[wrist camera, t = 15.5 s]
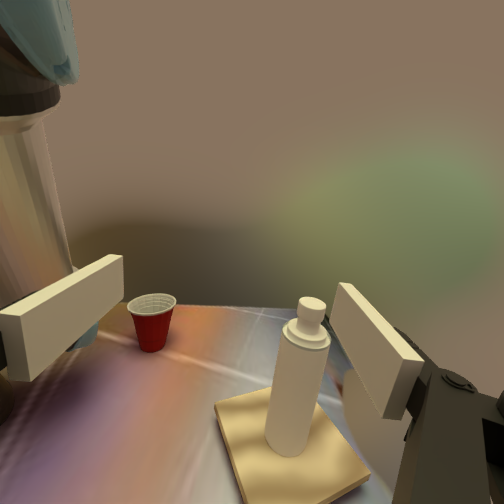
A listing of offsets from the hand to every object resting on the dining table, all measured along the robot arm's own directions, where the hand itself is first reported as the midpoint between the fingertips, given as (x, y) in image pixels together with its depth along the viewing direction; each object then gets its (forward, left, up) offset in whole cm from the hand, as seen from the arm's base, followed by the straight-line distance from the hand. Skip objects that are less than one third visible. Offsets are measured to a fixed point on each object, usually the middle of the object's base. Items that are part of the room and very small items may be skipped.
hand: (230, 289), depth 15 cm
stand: (-10, +16, -35) cm, 40 cm away
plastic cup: (-43, -2, -36) cm, 56 cm away
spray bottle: (-10, +16, -32) cm, 37 cm away
